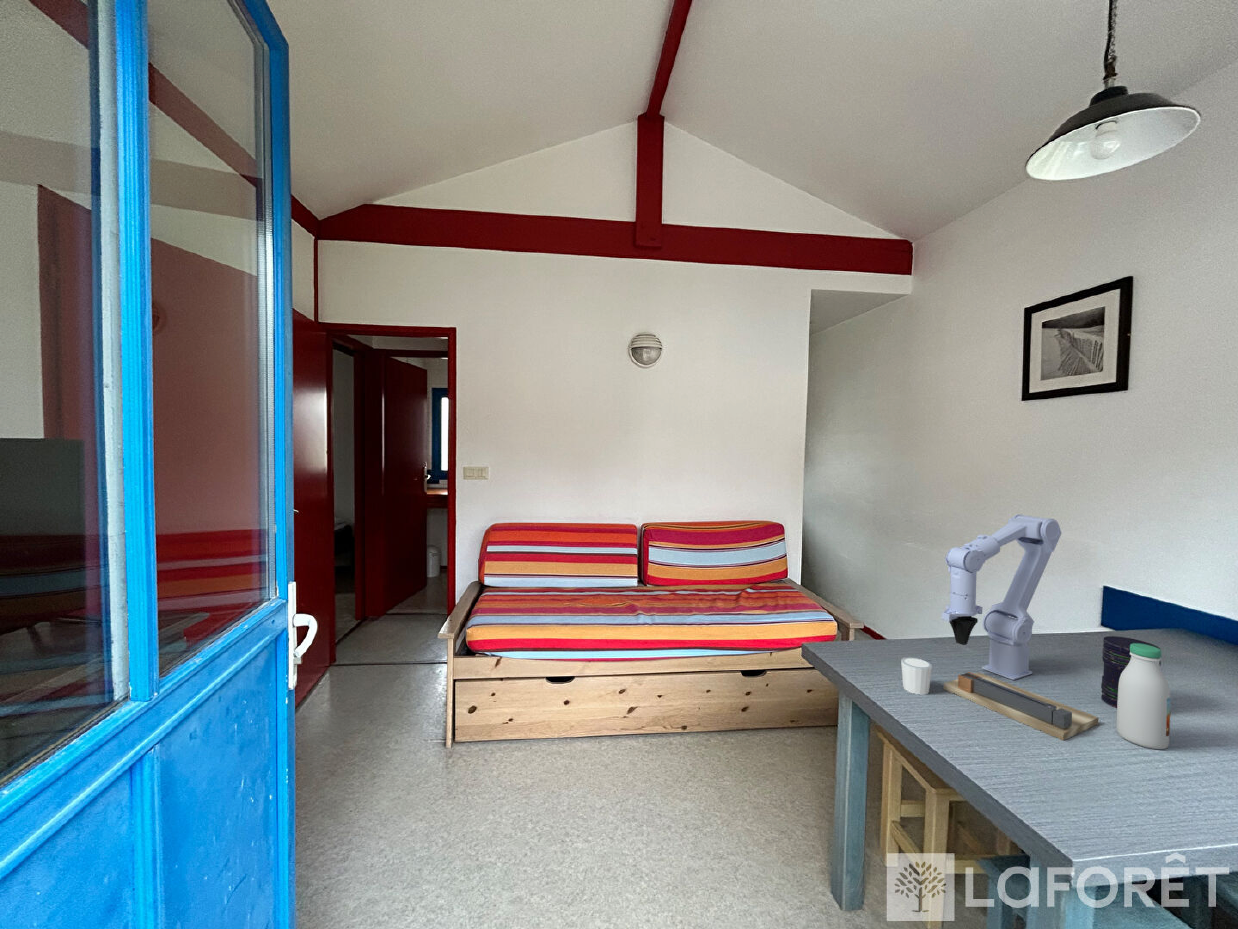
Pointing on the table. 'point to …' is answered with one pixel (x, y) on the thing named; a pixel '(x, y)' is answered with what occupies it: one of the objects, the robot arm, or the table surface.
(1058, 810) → the table surface
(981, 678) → the arm
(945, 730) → the table surface
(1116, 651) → the storage jar
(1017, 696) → the tongs fixed arm
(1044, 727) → the board
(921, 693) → the white cup
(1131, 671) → the milk bottle
